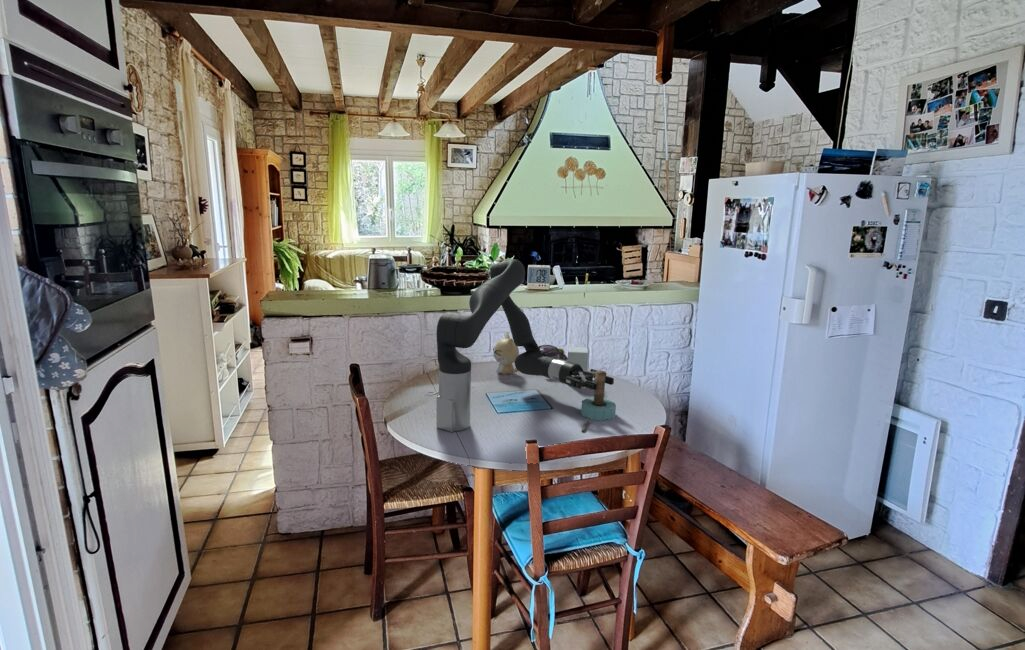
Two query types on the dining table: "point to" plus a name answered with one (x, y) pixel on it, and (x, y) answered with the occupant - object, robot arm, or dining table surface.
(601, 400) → the brown wooden rod
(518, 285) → the robot arm
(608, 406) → the teal ring
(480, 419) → the dining table surface
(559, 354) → the decorative flower
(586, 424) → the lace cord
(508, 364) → the kitten
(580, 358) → the supplement box
